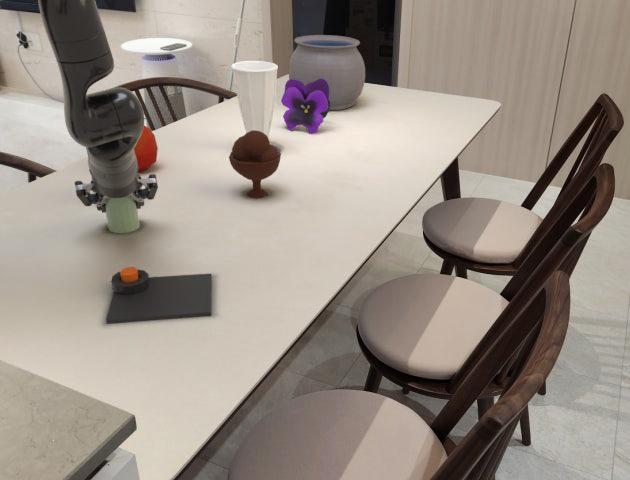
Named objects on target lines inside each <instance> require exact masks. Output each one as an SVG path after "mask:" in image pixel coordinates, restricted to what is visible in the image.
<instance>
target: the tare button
mask: <svg viewBox="0 0 630 480" xmlns="http://www.w3.org/2000/svg"><path fill="white" fill-rule="evenodd" d="M137 269H138V268H136V267H135V266H127V267H124V268H122V269H120V271H119V272H120V275H121V280H122V282H126V283H127V282H133V281H137V280H138V279H139V276H138V270H137Z"/></svg>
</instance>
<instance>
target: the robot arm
mask: <svg viewBox="0 0 630 480" xmlns="http://www.w3.org/2000/svg"><path fill="white" fill-rule="evenodd" d="M37 2H38V9H39V13H40V17H41V21H42V25H43V28H44V30H45V34H46V36H47V40H48V42H49V44H50V47H51V49H52V52H53V55H54V57H55V60H56V63H57V66H58V70H59V73H60V74H59V75H60V79H61V84H62V93H63V95H62V96H63V112H64V114H63V115H64V122H65V127H66V130H67V132H68V134H69V136H70V137H71V139H72V140H73V142H76V143H77V144H78V145H80V146H81V147H83V148H85V150H86V154H87V163H88V164H87V165H88V170H89V174H90V177H91V180H90V183H85V182H84V183H83V181H82V180H76V181H74V188H75V194H76V197H77V198H78V199H79V200H80V202H81V203H82V204H83V205H84V206H85V207H91V206H92V205H95V207H96V208H97V209H96V210H97V211H99V212H101V213H102V214H103V213H105V214H106V212H105V205H104V203H108V202H109V201H110V199H111V198H122V197H128V198H129V199H131V200H136V204H137V209H138V210H140V209H142V207H144V206H145V199H147V200H148V201H152V200H154V199H155V197H156V194H157V191H158V189H159V186H158V185H159V184H158V179H157V175H156V174H155V173H150V174H149V175H148V177H146V178H145V177H144V178H142V177H141V175H139V171H138V165H137V158H136V155H135V152H134V148H135V146H136V144H137V142H138V140H139V138H140V136H141V134H142V131H143V127H144V126H145V113H144V109H143V105H142V103H141V101H140V99H139V98H138V96H137V95H136V94H135V93H134V92H133V91H131V90H130V89H129V88H128V89H127V88H125V87H122V86H121V87H119V86H118V87H112V88H107V89H104V90H100V91H99V90H98V91H96V92H92V93H88V90H89V89H90V88H91V87H92V86H93V85H95V84H96V83H98V82H99V81H101V80H103V79H105V78H106V77H108V76H110V75H111V74H112V72H113V71H114V68H115V60H114V57H113V54H112V50H111V48H110V44H109V40H108V37H107V34H106V31H105V27H104V25H103V21H102V18H101V15H100V12H99V8H98V6H97V3H96V0H37ZM87 93H88V94H87ZM143 186H144V188H142V187H143ZM91 191H92V192H93V193H91Z"/></svg>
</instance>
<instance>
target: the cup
mask: <svg viewBox="0 0 630 480" xmlns="http://www.w3.org/2000/svg"><path fill="white" fill-rule="evenodd" d="M230 69H231V70H232V73H233V74H232V75H233V81H234V85H235V92H236V96H237V101H238V106H239V110H240V115H241V118H242V122H243V126H244V130H245V134H246V133H248V132H250V131H252V130H255V131H260V132H262V133H264V134H265V135H267V137H268V138H269V137H270V132H271V128H272V122H273V117H274V109H275V102H276V93H277V92H276V91H277V81H278V80H277V79H278V69H279V66H278V64H276V63H274V62H270V61H264V60H243V61H237V62H233V63H232V64H231V66H230ZM270 145H273V146H274V147H275V148H276V149H277V151H278V152H280V153H281V148H280V147H279V146H277V145H275V144H271V143H270Z"/></svg>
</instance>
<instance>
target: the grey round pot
mask: <svg viewBox="0 0 630 480" xmlns="http://www.w3.org/2000/svg"><path fill="white" fill-rule="evenodd" d="M294 43H296V44H297V46H296V48H295V49H294V50H293V53H292V54H291V56H290V60H289V65H288V80H290V79H294V80H298V81H300V82H302V83H303V84H304V85H305V86H306V85H307V84H308V83H311V82H314V81H316V80H318V79H324V80H325V81H326V82H327V83H328V86H329V99H328V100H329V101H330V108H329V111H341V110H346V109H349V108H351V107H353V106H354V105H355V104H356V102H355V101H356V100H357V99H359V97H360V96H361V94H362V92H363V89H364V86H365V82H366V66H365V62H364V59H363V58H364V57H362V54H361V53H360V51H359V50H358V48H357V47H358V46H359V45H360V44H361V42H360V40H358V39H355V38H354V37H353V38H352V37H348V36H342V35H330V34H329V35H327V34H313V35H302V36H297V37H295V38H294Z"/></svg>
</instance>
